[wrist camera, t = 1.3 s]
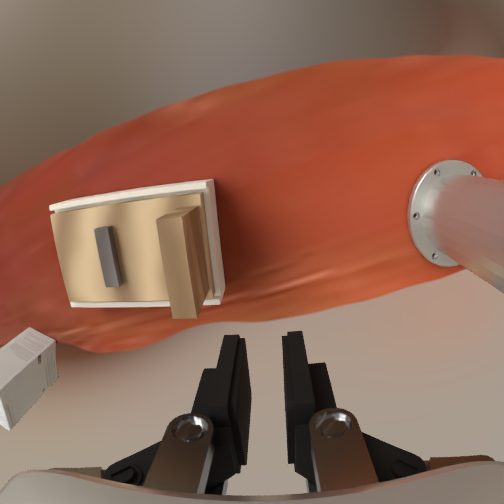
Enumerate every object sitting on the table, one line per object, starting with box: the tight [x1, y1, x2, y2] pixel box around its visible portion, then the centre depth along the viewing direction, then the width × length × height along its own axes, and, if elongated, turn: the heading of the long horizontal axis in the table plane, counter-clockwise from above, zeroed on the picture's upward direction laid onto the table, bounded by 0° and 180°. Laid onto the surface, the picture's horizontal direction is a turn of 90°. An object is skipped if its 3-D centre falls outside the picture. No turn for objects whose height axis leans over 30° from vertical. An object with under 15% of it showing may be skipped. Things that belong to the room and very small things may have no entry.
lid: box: [50, 192, 215, 319], centre depth 28 cm, size 17×10×8 cm, turn 95°
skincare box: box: [0, 327, 58, 431], centre depth 33 cm, size 8×6×15 cm
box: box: [49, 179, 226, 307], centre depth 32 cm, size 18×12×4 cm, turn 95°
